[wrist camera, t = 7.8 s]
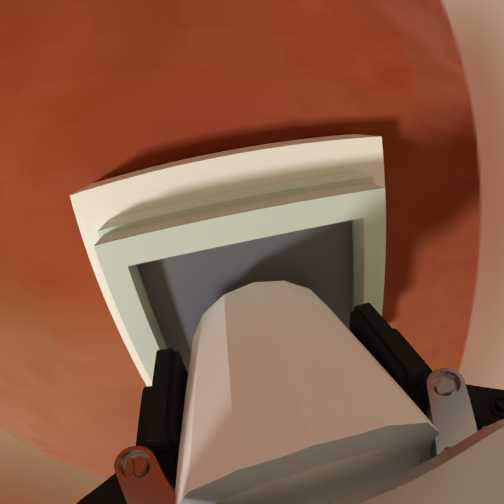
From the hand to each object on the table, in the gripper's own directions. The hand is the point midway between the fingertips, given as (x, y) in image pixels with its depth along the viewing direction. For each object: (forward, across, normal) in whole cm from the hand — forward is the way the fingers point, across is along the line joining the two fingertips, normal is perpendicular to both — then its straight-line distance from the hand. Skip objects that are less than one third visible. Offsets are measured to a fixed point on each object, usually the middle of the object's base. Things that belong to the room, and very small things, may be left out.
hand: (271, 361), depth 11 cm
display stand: (+7, 0, 0) cm, 7 cm away
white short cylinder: (+1, 0, 0) cm, 1 cm away
